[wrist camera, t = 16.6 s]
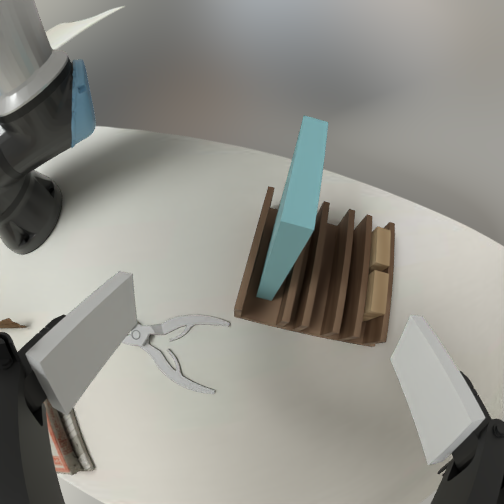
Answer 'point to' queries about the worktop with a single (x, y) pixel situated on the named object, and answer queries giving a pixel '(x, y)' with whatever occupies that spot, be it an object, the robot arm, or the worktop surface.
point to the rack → (318, 281)
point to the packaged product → (66, 442)
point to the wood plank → (9, 324)
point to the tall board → (295, 207)
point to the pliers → (142, 334)
